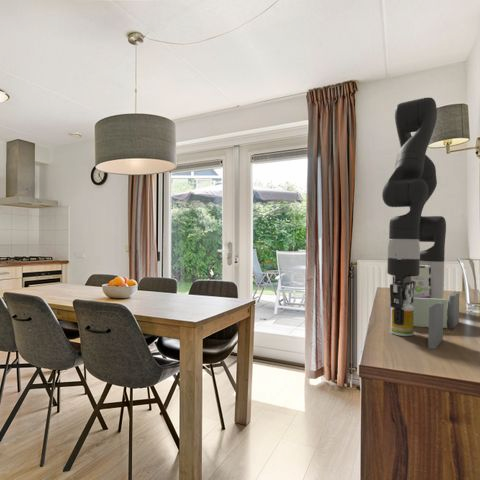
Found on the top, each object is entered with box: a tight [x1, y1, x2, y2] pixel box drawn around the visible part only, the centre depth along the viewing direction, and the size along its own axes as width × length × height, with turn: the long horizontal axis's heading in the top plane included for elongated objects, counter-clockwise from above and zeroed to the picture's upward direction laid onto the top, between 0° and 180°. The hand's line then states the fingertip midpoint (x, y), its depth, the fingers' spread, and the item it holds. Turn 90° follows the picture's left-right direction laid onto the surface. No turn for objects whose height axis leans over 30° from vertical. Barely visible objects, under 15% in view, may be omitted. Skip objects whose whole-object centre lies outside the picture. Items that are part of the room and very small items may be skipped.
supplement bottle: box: [390, 296, 415, 337], centre depth 91 cm, size 5×5×10 cm
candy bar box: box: [391, 265, 431, 298], centre depth 114 cm, size 11×5×16 cm, turn 68°
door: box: [412, 298, 448, 329], centre depth 99 cm, size 13×1×8 cm, turn 81°
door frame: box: [427, 291, 460, 350], centre depth 92 cm, size 36×2×9 cm, turn 141°
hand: (402, 322), depth 91 cm, fingers closed on supplement bottle, 5 cm apart
